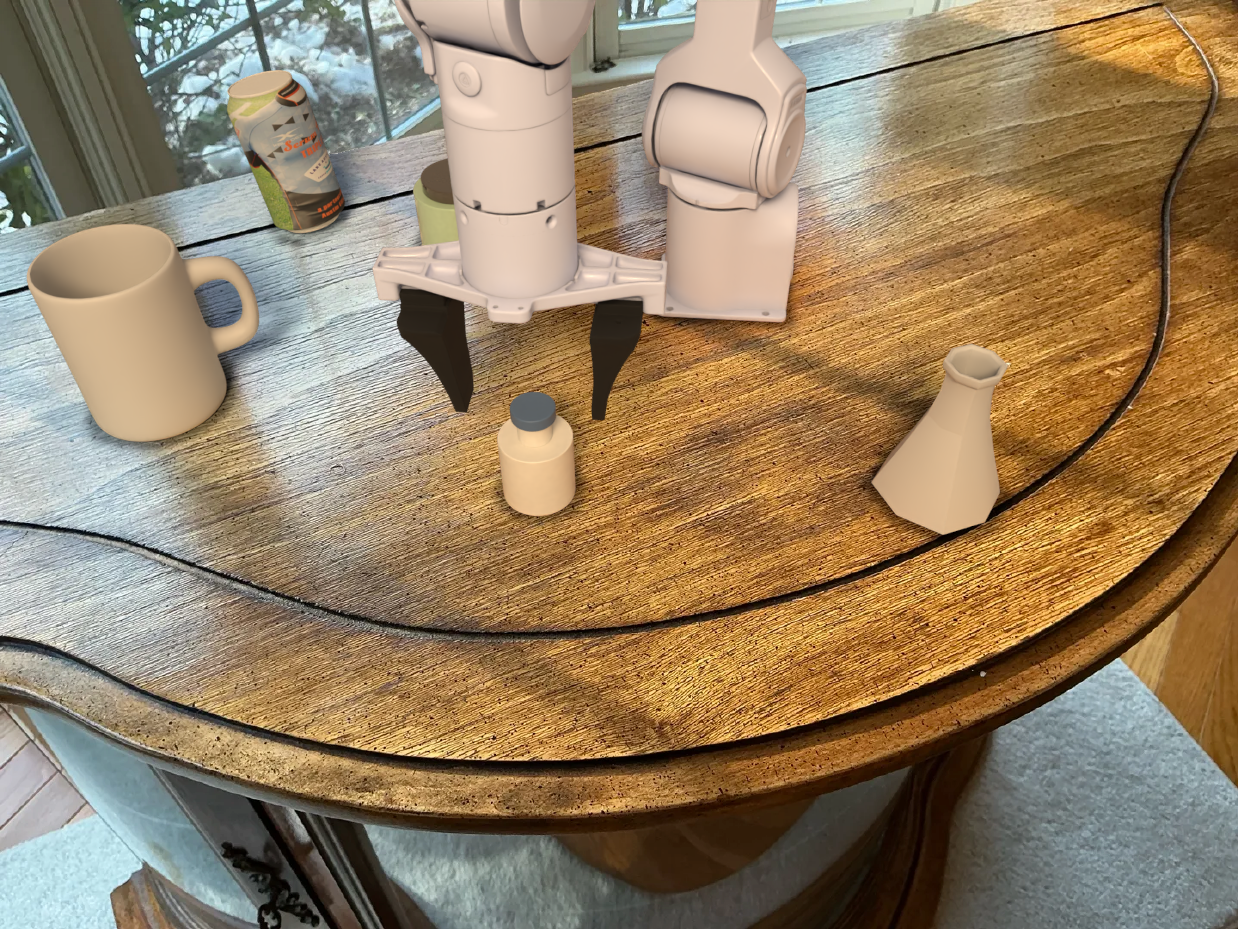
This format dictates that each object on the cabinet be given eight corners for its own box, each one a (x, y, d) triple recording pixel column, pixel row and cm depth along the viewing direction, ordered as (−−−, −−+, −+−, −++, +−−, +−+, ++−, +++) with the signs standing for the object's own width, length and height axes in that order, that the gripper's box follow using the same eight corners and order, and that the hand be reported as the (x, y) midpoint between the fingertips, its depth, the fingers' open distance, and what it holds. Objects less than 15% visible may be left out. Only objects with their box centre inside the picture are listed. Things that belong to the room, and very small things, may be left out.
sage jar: (515, 221, 82) (509, 154, 78) (500, 268, 77) (493, 199, 73) (432, 217, 83) (422, 150, 78) (413, 264, 78) (401, 195, 73)
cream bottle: (579, 466, 62) (576, 383, 57) (571, 518, 58) (566, 435, 54) (510, 462, 62) (500, 378, 57) (497, 513, 59) (486, 430, 54)
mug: (103, 460, 62) (29, 318, 54) (87, 382, 67) (17, 243, 60) (293, 401, 66) (249, 261, 58) (263, 333, 71) (219, 196, 64)
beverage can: (331, 246, 79) (296, 102, 71) (246, 236, 80) (202, 93, 72) (360, 206, 84) (331, 66, 75) (280, 197, 85) (242, 58, 76)
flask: (925, 433, 64) (963, 306, 57) (1020, 497, 60) (1074, 368, 53) (849, 483, 60) (879, 355, 53) (944, 554, 56) (990, 426, 49)
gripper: (335, 221, 43) (386, 445, 53) (665, 237, 42) (656, 462, 52) (377, 145, 48) (417, 363, 58) (673, 158, 47) (664, 377, 57)
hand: (532, 404), depth 55 cm, fingers open, 7 cm apart
